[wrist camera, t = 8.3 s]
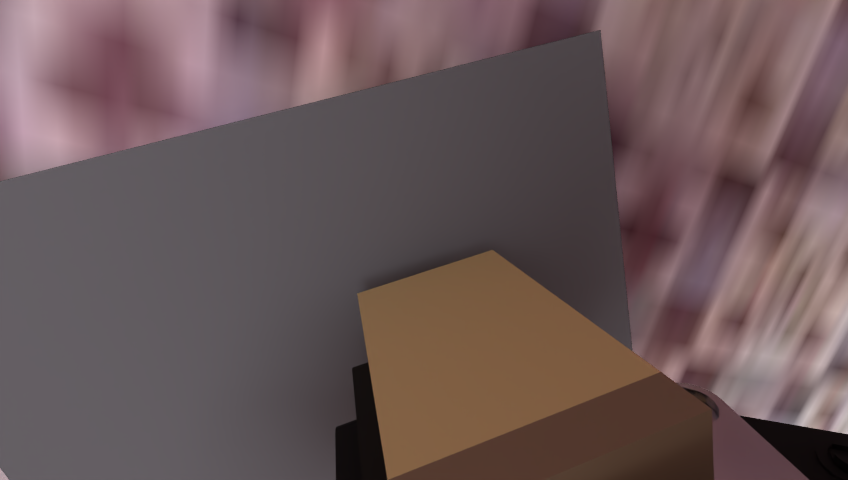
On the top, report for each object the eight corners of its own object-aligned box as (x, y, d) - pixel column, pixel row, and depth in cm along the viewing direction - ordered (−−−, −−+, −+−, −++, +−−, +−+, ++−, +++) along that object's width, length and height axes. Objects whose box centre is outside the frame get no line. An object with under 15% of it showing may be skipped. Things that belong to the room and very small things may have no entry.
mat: (588, 34, 12) (600, 30, 12) (631, 433, 17) (641, 443, 17) (-153, 222, 10) (-183, 227, 9) (150, 633, 14) (142, 654, 14)
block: (492, 249, 11) (712, 409, 5) (526, 414, 13) (720, 693, 7) (357, 293, 11) (397, 540, 4) (412, 459, 13) (500, 812, 6)
